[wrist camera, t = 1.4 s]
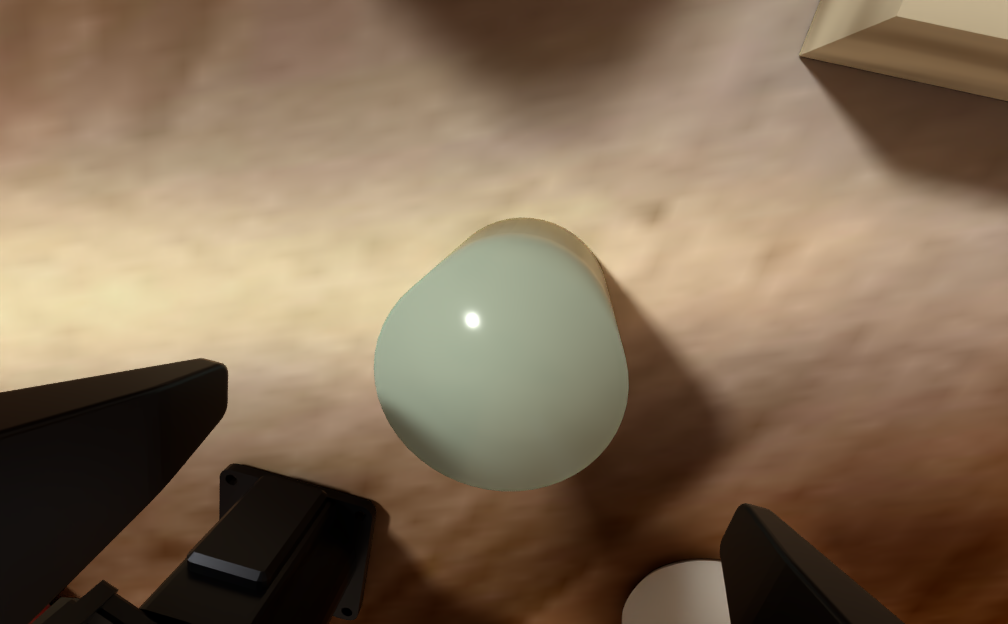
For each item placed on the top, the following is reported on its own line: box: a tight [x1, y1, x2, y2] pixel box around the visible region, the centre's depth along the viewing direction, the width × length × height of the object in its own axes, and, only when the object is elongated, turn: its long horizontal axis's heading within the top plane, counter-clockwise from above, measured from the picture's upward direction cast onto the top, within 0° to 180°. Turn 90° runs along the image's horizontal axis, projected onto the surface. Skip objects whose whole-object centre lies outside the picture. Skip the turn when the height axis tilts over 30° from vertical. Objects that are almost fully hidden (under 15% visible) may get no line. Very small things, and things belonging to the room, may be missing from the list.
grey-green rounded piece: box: [374, 218, 629, 491], centre depth 13 cm, size 6×6×6 cm
